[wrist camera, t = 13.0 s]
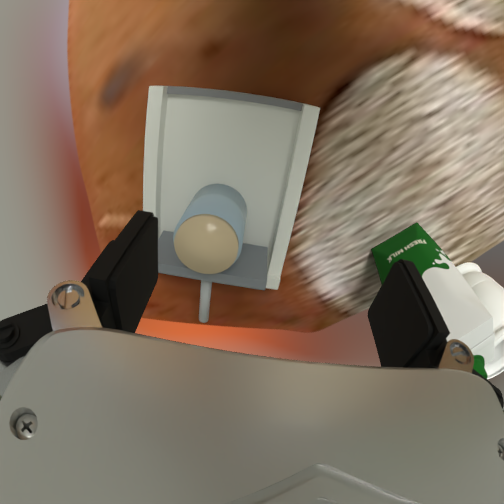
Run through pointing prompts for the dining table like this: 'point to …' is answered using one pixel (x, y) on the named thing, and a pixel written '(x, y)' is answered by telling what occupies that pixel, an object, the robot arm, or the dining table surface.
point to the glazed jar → (211, 229)
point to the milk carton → (443, 290)
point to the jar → (498, 305)
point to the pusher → (238, 274)
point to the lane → (229, 159)
